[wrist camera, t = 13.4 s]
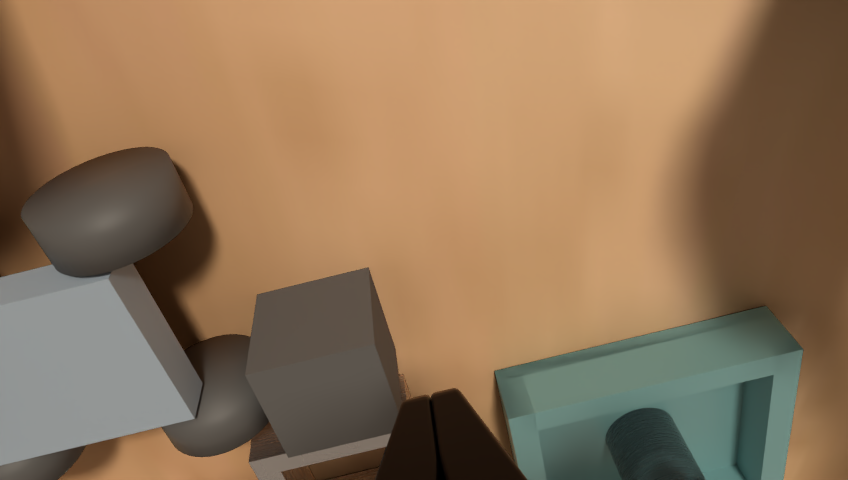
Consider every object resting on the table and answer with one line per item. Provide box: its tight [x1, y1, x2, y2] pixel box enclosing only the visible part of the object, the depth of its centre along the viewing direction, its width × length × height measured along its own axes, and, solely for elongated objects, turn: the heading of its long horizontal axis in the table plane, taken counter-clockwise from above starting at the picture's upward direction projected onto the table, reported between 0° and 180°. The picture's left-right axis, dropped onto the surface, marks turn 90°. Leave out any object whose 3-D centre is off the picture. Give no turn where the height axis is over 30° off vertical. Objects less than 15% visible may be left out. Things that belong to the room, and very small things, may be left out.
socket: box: [249, 374, 411, 480], centre depth 27 cm, size 6×6×2 cm
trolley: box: [0, 147, 269, 480], centre depth 19 cm, size 11×9×8 cm
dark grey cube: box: [245, 267, 402, 458], centre depth 23 cm, size 4×4×4 cm
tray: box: [495, 306, 803, 480], centre depth 28 cm, size 11×10×2 cm
